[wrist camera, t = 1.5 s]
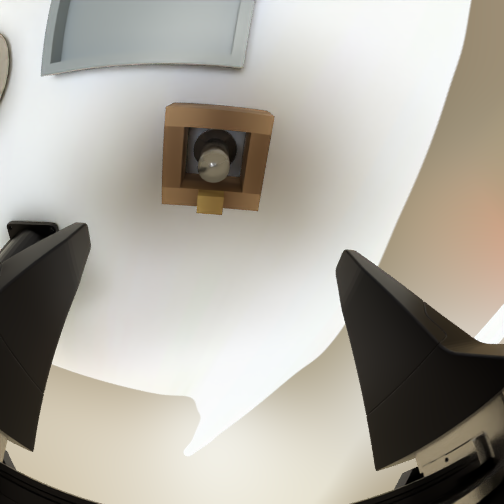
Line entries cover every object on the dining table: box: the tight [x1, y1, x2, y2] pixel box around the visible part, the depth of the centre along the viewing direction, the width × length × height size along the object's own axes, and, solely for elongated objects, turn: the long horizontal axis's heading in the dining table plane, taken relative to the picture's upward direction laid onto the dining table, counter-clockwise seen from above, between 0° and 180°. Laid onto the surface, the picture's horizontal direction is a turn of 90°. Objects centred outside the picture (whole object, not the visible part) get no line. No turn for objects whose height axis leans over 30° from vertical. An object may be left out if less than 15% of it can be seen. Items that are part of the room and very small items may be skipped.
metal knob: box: [194, 129, 237, 183], centre depth 17 cm, size 3×3×4 cm
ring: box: [162, 103, 274, 215], centre depth 18 cm, size 6×6×4 cm
